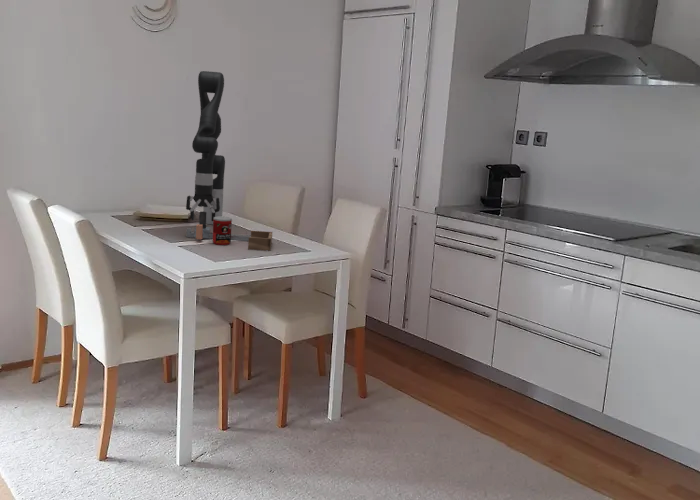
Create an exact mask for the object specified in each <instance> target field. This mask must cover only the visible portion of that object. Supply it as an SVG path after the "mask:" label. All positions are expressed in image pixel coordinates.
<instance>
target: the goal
mask: <svg viewBox="0 0 700 500" xmlns="http://www.w3.org/2000/svg"><path fill="white" fill-rule="evenodd" d="M250 235H251V237H249V241H247V242H248V243H247V249H248V250H251V251H252V250H253V251H266V250H268V252H270V251H271V249H272V244H273V231H262V230H251V231H250Z"/></svg>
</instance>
